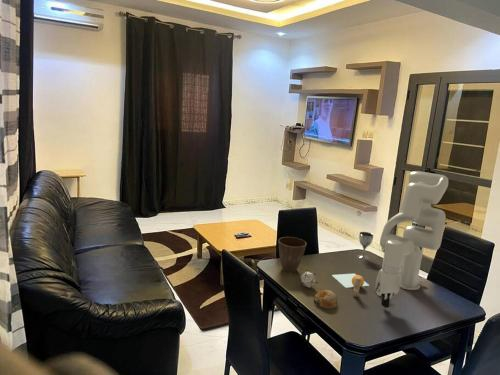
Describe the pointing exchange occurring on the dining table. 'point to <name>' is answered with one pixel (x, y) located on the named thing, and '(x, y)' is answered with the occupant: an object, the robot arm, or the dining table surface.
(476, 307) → the dining table surface
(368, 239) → the wine glass
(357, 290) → the post
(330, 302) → the bread roll
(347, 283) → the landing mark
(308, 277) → the game die
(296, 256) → the plant pot
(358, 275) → the ball
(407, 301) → the dining table surface
